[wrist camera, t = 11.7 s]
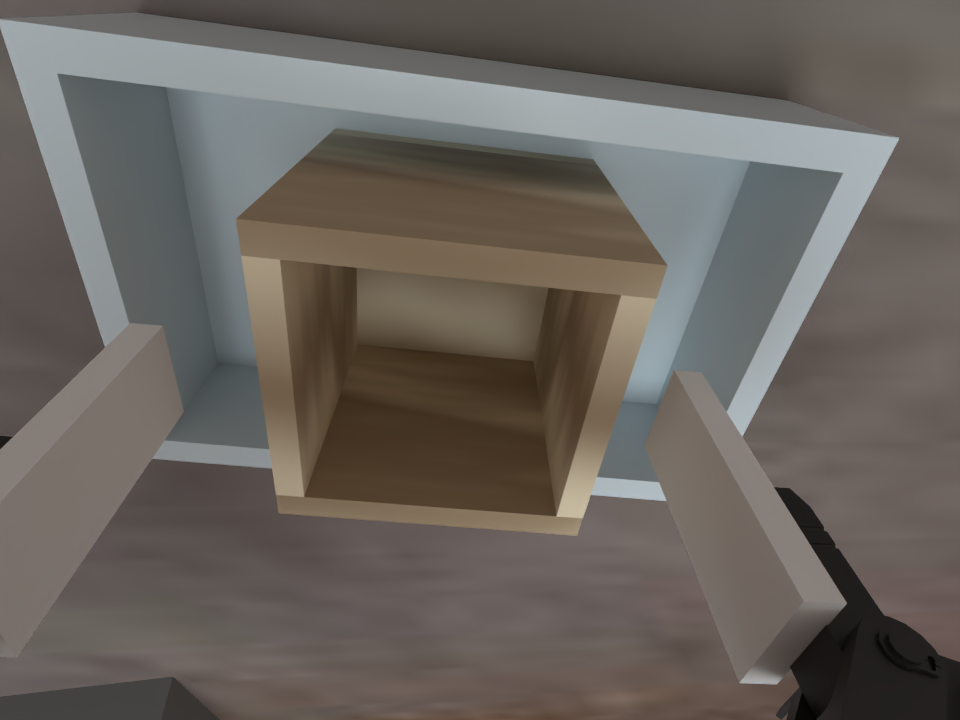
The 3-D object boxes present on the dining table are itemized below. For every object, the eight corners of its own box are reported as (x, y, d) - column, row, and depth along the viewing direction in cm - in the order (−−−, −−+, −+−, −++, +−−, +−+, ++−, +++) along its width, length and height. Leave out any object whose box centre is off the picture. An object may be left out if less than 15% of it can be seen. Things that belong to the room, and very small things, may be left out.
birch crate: (546, 367, 24) (577, 535, 16) (343, 348, 23) (278, 513, 16) (593, 159, 19) (667, 265, 11) (335, 128, 18) (235, 218, 11)
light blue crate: (664, 409, 27) (706, 504, 22) (208, 366, 25) (141, 457, 20) (788, 100, 19) (899, 137, 14) (136, 12, 17) (-3, 19, 12)
